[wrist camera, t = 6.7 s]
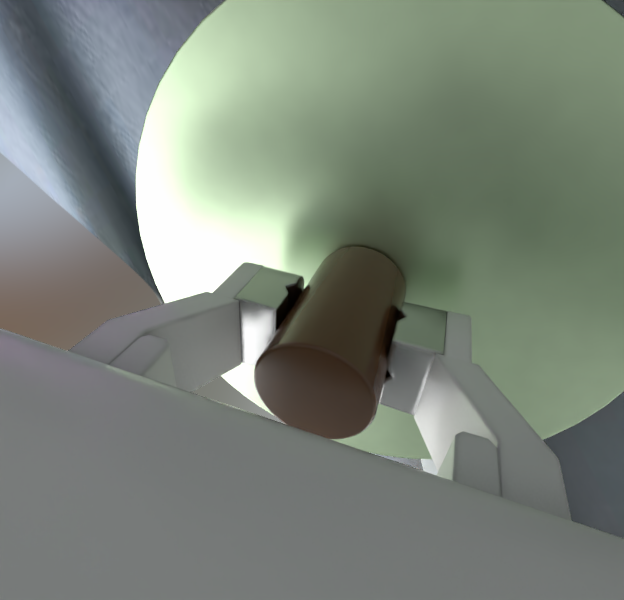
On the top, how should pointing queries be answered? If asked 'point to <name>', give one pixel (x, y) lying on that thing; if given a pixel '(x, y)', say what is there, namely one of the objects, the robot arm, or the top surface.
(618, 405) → the top surface
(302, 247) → the lid
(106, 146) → the top surface
